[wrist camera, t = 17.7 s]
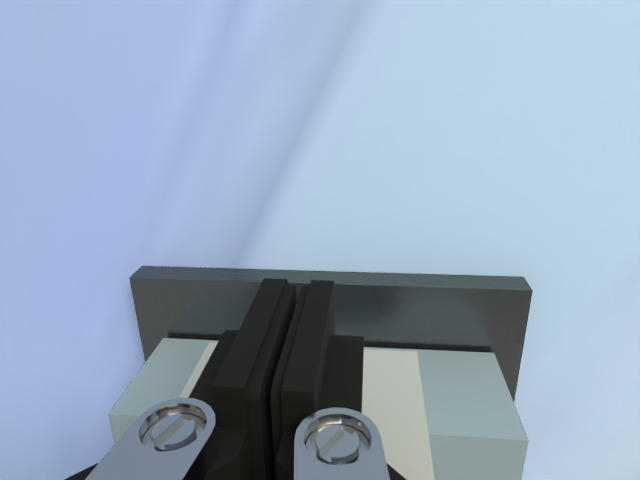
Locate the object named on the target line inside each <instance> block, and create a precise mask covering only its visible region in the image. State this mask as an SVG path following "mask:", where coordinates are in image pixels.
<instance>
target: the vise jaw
mask: <svg viewBox="0 0 640 480" xmlns="http://www.w3.org/2000/svg"><path fill="white" fill-rule="evenodd" d="M218 341H219V340H197V339H174V338H163V339H162V340H161V342H160V343H159V344H158V346H157V347H156V349H155V350H154V351H153V353H152V354H151V355H150V357H149V358H148V360H147V361H146V362H145V364H144V365H143V367H142V368H141V369H140V371H139V372H138V373H137V375H136V376H135V378H134V379H133V380H132V382H131V383H130V384H129V386H128V387H127V389H126V390H125V391H124V393H123V394H122V395H121V397H120V398H119V400H118V401H117V402H116V404H115V405H114V406H113V408H112V409H111V411H110V412H109V413H108V416H109V420H110V424H111V428H112V433H113V437H114V441H115V444H116V442H117V441H118V440H119V439H120V438H121V437H122V435H123V434H124V433H125V432H126V431H127V430H128V428H129V427H130V426H131V425H132V424H133V422H134V421H135V420H136V419H137V418H138V417H139V416H140V415H141V414H142V413H144V412H145V411H146V410H147V409H149V408H151V407H152V406H154V405H156V404H158V403H161V402H164V401H166V400H169V399H176V398H188V397H189V396H190V394H191V392H192V390H193V388H194V386H195V384H196V382H197V381H198V379H199V377H200V375H201V373H202V371H203V369H204V367H205V366H206V364H207V362H208V360H209V358H210V356H211V354H212V352H213V351H214V349H215V347H216V345H217V343H218ZM362 414H363V415H365V416H367V417H368V418H370V420H371V421H372V422H373V423H374V424H375V425H376V426H377V428H378V431H379V433H380V435H381V440H382V444H383V449H384V454H385V459H386V463H388V464H389V465H390V466H391V467H392V468H394V469H395V470H396V471H397V472H398V473H399V474H401V475H402V476H403V477H404V478H405V479H406V480H521V478H522V472H523V467H524V462H525V456H526V451H527V446H528V438H527V435H526V433H525V430H524V428H523V425H522V423H521V420H520V418H519V415H518V412H517V410H516V407H515V405H514V402H513V400H512V397H511V394H510V392H509V389H508V387H507V384H506V382H505V379H504V377H503V374H502V371H501V369H500V366H499V364H498V361H497V359H496V356H495V354H494V353H486V352H464V351H442V350H419V349H397V348H375V347H364V356H363V391H362Z"/></svg>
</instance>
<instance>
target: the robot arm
mask: <svg viewBox="0 0 640 480" xmlns="http://www.w3.org/2000/svg"><path fill="white" fill-rule="evenodd" d="M363 356H364V336H349V335H335V282H334V281H327V280H311V282H310V286H302V288H301V291H300V294H299V297H298V301H297V289H296V285H289V283H288V280H287V279H273V278H264V279H263V281H262V283H261V285H260V287H259V289H258V291H257V293H256V296H255V298H254V300H253V302H252V304H251V306H250V308H249V310H248V312H247V314H246V316H245V318H244V320H243V322H242V325H241V327H240V329H239V330H225V331H224V332H223V334H222V336H221V337H220V339H219V341H218V343H217V345H216V347H215V349H214V351H213V352H212V354H211V356H210V358H209V360H208V362H207V364H206V366H205V367H204V369H203V371H202V373H201V375H200V377H199V379H198V381H197V382H196V384H195V386H194V388H193V390H192V392H191V394H190V396H189V397H188V398H176V399H169V400H166V401H164V402H161V403H158V404H156V405H154V406H152V407H151V408H149V409H147V410H146V411H145V412H144V413H142V414H141V415H140V416H139V417H138V418H137V419H136V420H135V421H134V422H133V424H132V425H131V426H130V427H129V428H128V430H127V431H126V432H125V433H124V434H123V435H122V437H121V438H120V439H119V440H118V441H117V442H116V444H115V445H114V446H113V447H112V448H111V449H110V451H109V452H108V453H107V454H106V455H105V456H104V458H103V459H102V460H101V461H100V462H99V463H97V464H95V465H93V466H91V467H89V468H87V469H85V470H83V471H81V472H79V473H77V474H75V475H73V476H71V477H69V478H67V479H65V480H406V479H405V478H404V477H403V476H402V475H401V474H399V473H398V472H397V471H396V470H395V469H394V468H392V467H391V466H390V465H389V464H388V463H386V459H385V454H384V449H383V444H382V440H381V435H380V433H379V431H378V428H377V426H376V425H375V424H374V423H373V422H372V421H371V420H370V418H368V417H367V416H365V415H363V414H362V391H363Z"/></svg>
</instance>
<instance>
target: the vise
mask: <svg viewBox="0 0 640 480" xmlns="http://www.w3.org/2000/svg"><path fill="white" fill-rule="evenodd" d="M264 278H273V279H287V280H288V283H289V285H296V289H297V301H298V297H299V294H300V291H301V288H302V286H310V282H311V280H327V281H334V282H335V335H349V336H364V347H375V348H397V349H419V350H442V351H464V352H486V353H494V354H495V356H496V359H497V361H498V364H499V366H500V369H501V371H502V374H503V377H504V379H505V382H506V384H507V387H508V389H509V392H510V394H511V397H512V400H513V402H514V399H515V393H516V387H517V381H518V375H519V369H520V363H521V357H522V351H523V345H524V339H525V332H526V326H527V320H528V314H529V308H530V302H531V296H532V289H531V287H530V286H529V284H528V283H527V281H526V280H525V278H524V277H507V276H472V275H437V274H402V273H366V272H331V271H296V270H261V269H226V268H190V267H155V266H142V267H141V268H139V269H138V270H137V271H136V272H135V273H134V274H133V275H132V276H131V277H130V283H131V288H132V293H133V299H134V304H135V309H136V315H137V320H138V325H139V331H140V336H141V341H142V346H143V352H144V357H145V362H146V361H147V360H148V358H149V357H150V355H151V354H152V353H153V351H154V350H155V349H156V347H157V346H158V344H159V343H160V342H161V340H162V339H163V338H174V339H197V340H219V339H220V337H221V336H222V334H223V332H224V331H225V330H239V329H240V327H241V325H242V322H243V320H244V318H245V316H246V314H247V312H248V310H249V308H250V306H251V304H252V302H253V300H254V298H255V296H256V293H257V291H258V289H259V287H260V285H261V283H262V281H263V279H264Z"/></svg>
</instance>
